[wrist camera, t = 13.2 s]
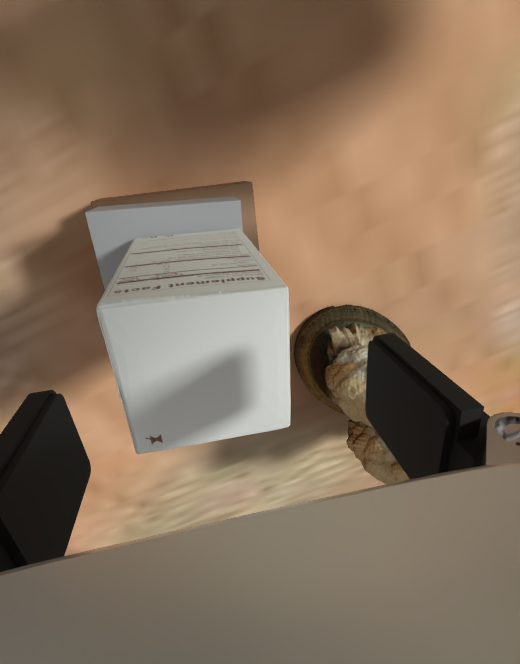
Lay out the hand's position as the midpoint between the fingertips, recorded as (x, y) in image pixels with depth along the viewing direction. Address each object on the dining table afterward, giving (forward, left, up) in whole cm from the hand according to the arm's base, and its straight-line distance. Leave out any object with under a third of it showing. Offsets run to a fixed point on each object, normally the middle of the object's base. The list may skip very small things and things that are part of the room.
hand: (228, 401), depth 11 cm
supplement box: (+1, -1, -16) cm, 16 cm away
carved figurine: (+15, +16, -24) cm, 33 cm away
